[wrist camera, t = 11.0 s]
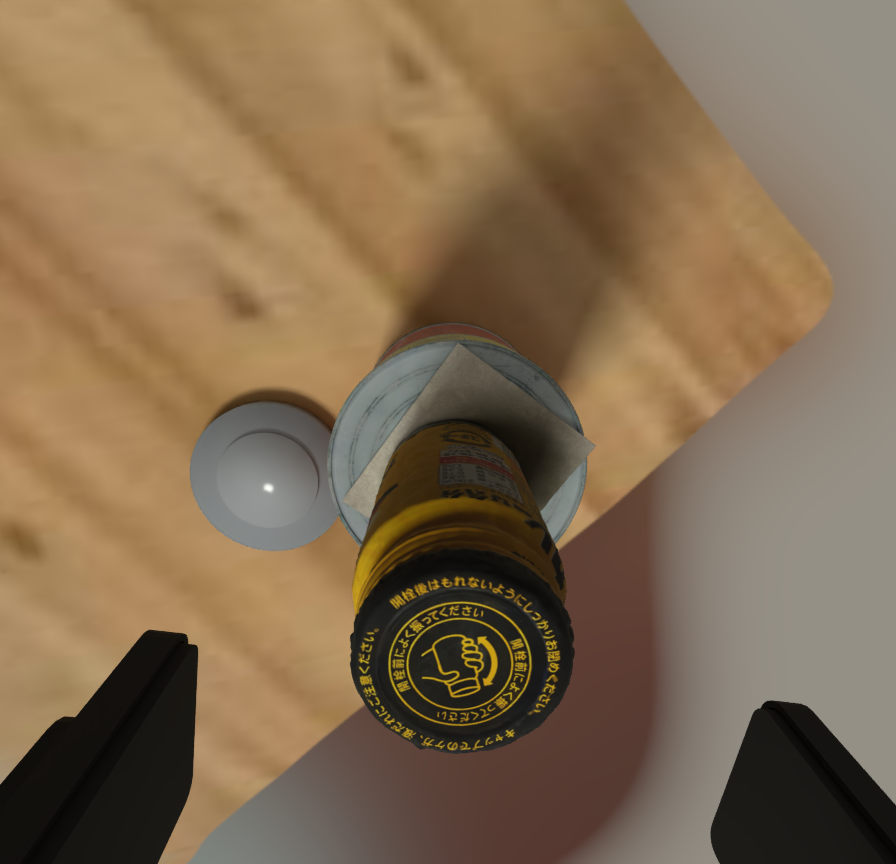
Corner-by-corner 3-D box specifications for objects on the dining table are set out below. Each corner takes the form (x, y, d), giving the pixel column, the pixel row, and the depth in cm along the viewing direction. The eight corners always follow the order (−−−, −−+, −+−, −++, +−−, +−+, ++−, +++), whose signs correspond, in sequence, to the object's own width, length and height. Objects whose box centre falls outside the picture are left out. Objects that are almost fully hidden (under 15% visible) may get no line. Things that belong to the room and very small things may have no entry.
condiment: (342, 499, 24) (252, 696, 12) (458, 342, 22) (478, 399, 11) (475, 586, 25) (506, 841, 14) (594, 443, 24) (744, 593, 12)
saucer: (200, 389, 35) (191, 393, 33) (357, 413, 35) (354, 417, 34) (193, 533, 37) (184, 542, 36) (340, 553, 38) (337, 562, 36)
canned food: (489, 519, 37) (512, 623, 26) (336, 450, 36) (287, 527, 24) (570, 371, 35) (635, 412, 23) (408, 291, 33) (392, 291, 22)
